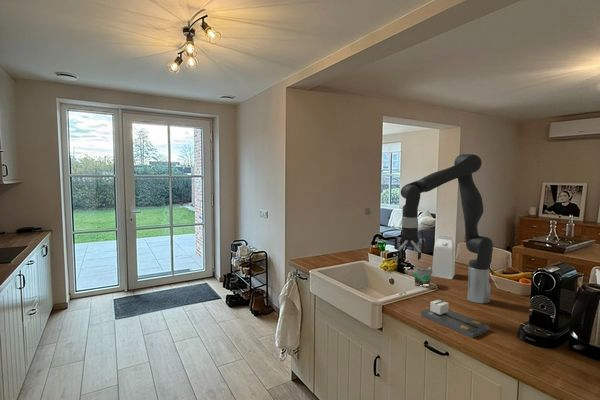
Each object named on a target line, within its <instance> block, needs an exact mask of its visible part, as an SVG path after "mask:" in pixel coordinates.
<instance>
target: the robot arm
mask: <svg viewBox="0 0 600 400" xmlns="http://www.w3.org/2000/svg"><path fill="white" fill-rule="evenodd" d="M480 168H482V160H481V158H480V156H478V155H476V154H474V153H473V154H472V153H471V154H470V153H462V154H459V155H457V156H456V158H455V159H454V163H453V165H452V166H449V167H447V168H445V169H441V170H438V171H435V172H432V173H430V174H428V175H426V176H423V177H422V178H420V179H418V180H415V181H412V182H410V183H407V184H405V185H403V186H402V187H401V189H400V195H401V197H402V198H404V199H405V203H404V205H403V206H402V218H401V237H399V236H395V237H394V247H393V249H394V250H397V257H398V258H399V259H402V250H403V248H404V247H410V248H415V249H416V250H417V260H418V261H420V260H421V258H422V253H424V252H425V251H426V239H425V238H424V237H423V238H419V218H418V213H419V210H418V209H419V205H420V200H421V194H422V193H427V192H431V191H432V190H434V189H436V188H438V187H440V186H442V185H444V184H446V183H449V182H451V181H453V180H456V179H457V182H458V188H459V194H460V201H461V209H462V213H463V214H462V215H463V219H464V221H463V222H464V231H465V232H464V233H465V236H464V237H465V247H466V249H467V250H468V252H470V253H473V254H477V256H476V259H470V260H469V261H468V277H467V279H468V280H467V295H466V296H467V298H466V299H467V300H468V301H470V302H473V303H475V304H487V303H490V302H491V283H490V267H491V263H492V259H493V251H494V245H493V244H494V243H493V240H492V239H491V238H489V237H487V236H482V235H479V230H478V225H479V222H480V220H481V218H482V217H483V214H484V203H483V202H484V201H483V197H482V195H481V193H480V191H479V189H478V188H477V186H476V183H475V181H474V178H473V174H474V173H476V172H478V171H479V170H480ZM398 242H401V243H402V244H401V245H400V246H399V245H398V244H399V243H398ZM418 243H420V244H421V248H420V246H419V244H418Z"/></svg>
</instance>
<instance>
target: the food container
mask: <svg viewBox="0 0 600 400" xmlns="http://www.w3.org/2000/svg"><path fill="white" fill-rule="evenodd" d="M413 273H414V275H413V276H414V286H415V287H419V286H420V285H423V284H430V285H431V277H432V266H431V267H430V266H427V267H425V268H424V267H423V268H422V267H421V268H419V269H416V268H414V269H413Z"/></svg>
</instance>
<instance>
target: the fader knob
mask: <svg viewBox="0 0 600 400" xmlns="http://www.w3.org/2000/svg"><path fill="white" fill-rule="evenodd" d="M429 304H430V306H429V308H430V311H432V312H435V313H437V314H439V315H441V314H443V313H446V312H448V310H449V304H450V303H449V302H447V301H444V300H441V299H439V298H438V299H436V300H433V301H430V303H429Z"/></svg>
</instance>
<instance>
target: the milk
mask: <svg viewBox="0 0 600 400" xmlns="http://www.w3.org/2000/svg"><path fill="white" fill-rule="evenodd" d="M432 255H433V256H432V265H431V269H432V273H431V277H435V278H441V279H449V280H453V279H454V277H455V273H456V272H455V271H456V270H455V268H456V267H455V259H456V258H455V244H454V242H453V240H452V237H451V235H448V234H439V235H438V237H437V238H436V242H435V244H434V246H433V254H432Z"/></svg>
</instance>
